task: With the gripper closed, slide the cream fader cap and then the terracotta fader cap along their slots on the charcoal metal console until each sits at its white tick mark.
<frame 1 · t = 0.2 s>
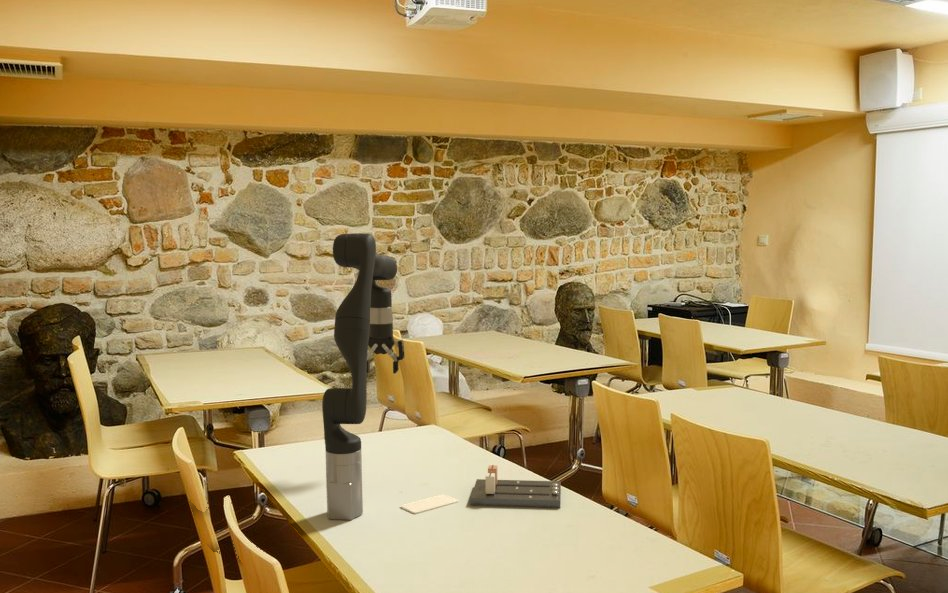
hand: (381, 372, 252), 29 cm above the table, fingers open, 8 cm apart
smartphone: (430, 506, 217), on the table
fader 2: (490, 483, 220), point 5 cm above the table, slide at 0.0 cm
fader 1: (492, 475, 227), point 5 cm above the table, slide at 0.0 cm
console: (516, 496, 223), on the table
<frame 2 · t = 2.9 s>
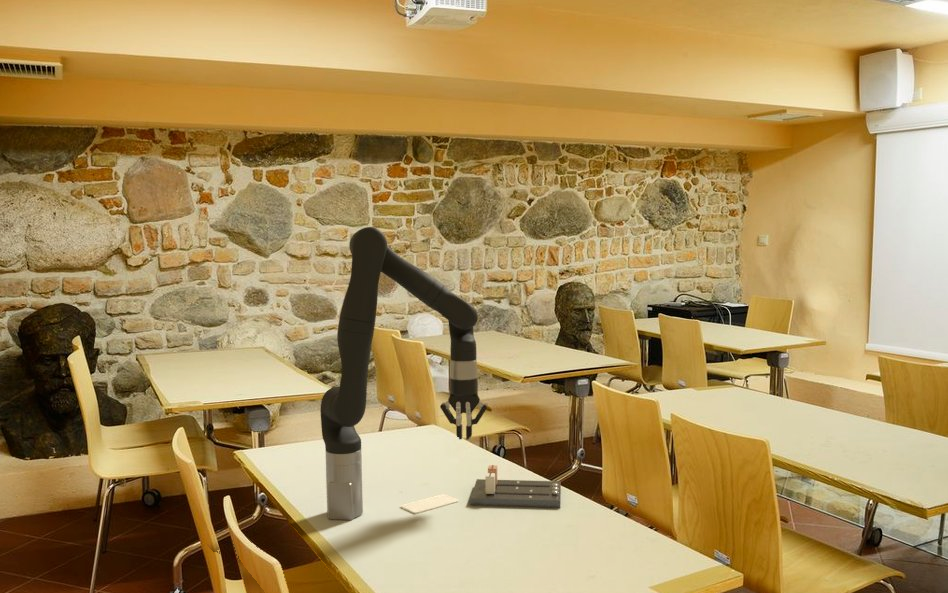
hand: (464, 438, 219), 17 cm above the table, fingers closed
nothing on the table moved.
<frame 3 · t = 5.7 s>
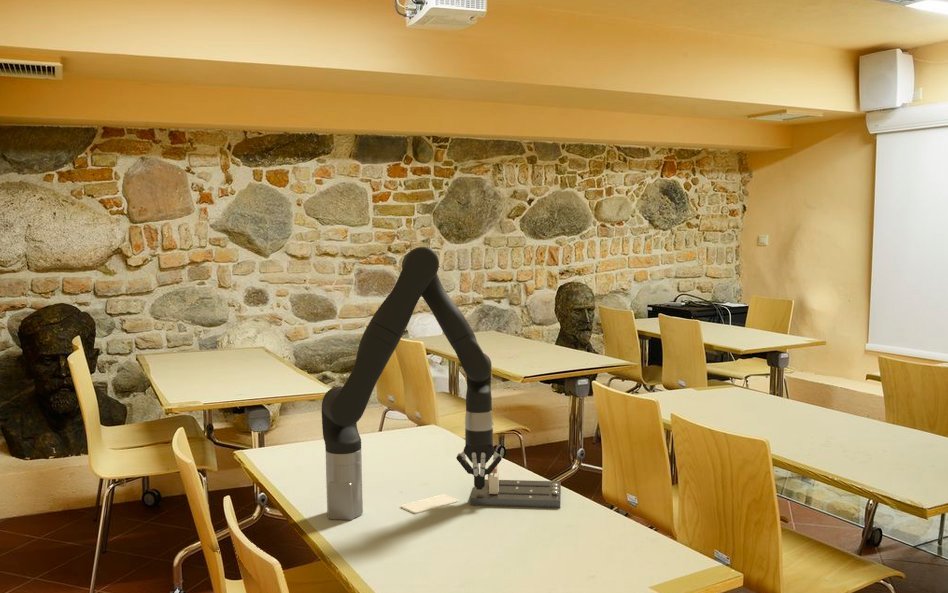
hand: (479, 488, 220), 3 cm above the table, fingers closed
fader 2: (493, 483, 220), point 5 cm above the table, slide at 1.0 cm, touching gripper
everything else where it was.
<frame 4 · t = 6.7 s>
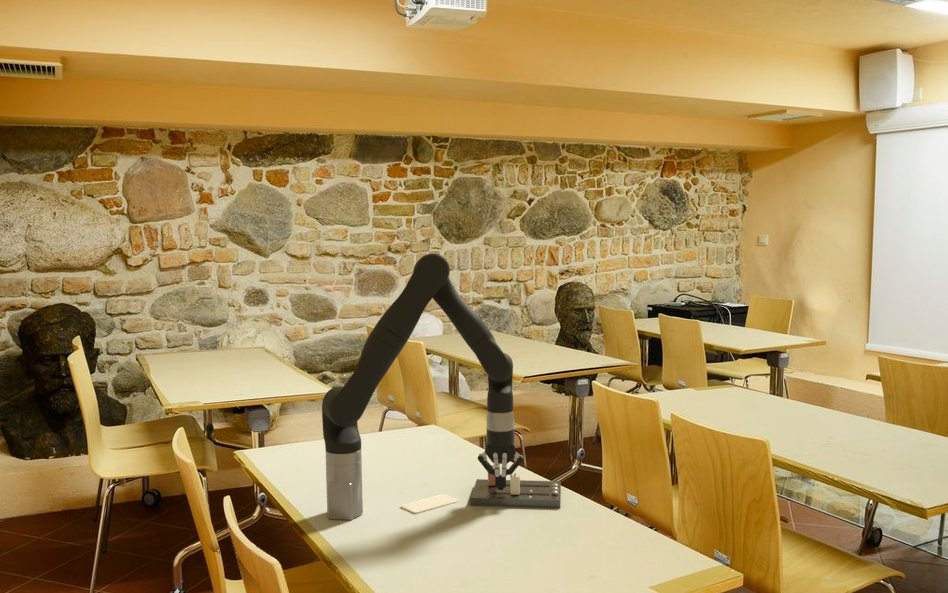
hand: (500, 489, 220), 3 cm above the table, fingers closed
fader 2: (515, 483, 219), point 5 cm above the table, slide at 6.8 cm, touching gripper
everything else where it was.
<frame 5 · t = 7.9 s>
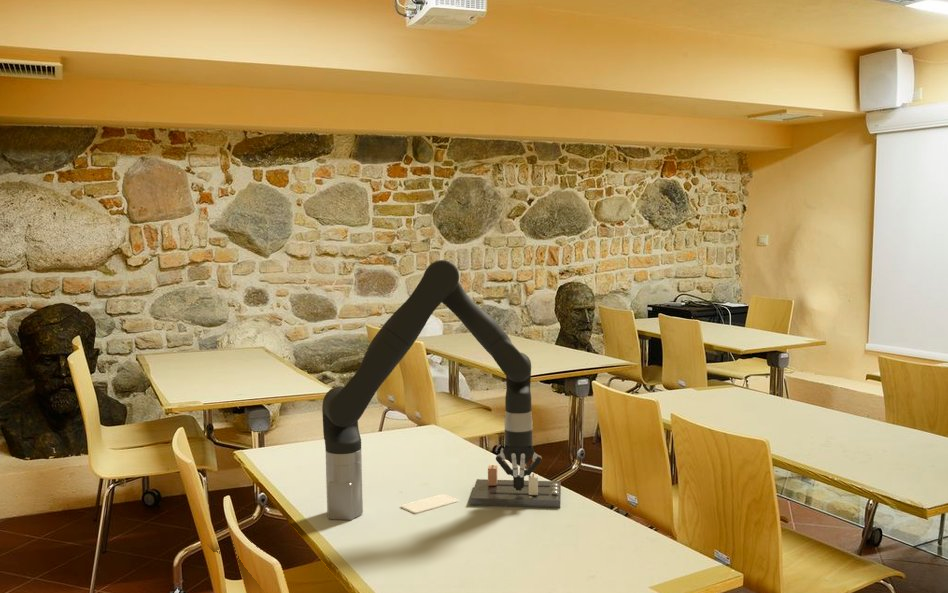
hand: (518, 489, 219), 3 cm above the table, fingers closed
fader 2: (533, 484, 218), point 5 cm above the table, slide at 11.7 cm, touching gripper
everything else where it was.
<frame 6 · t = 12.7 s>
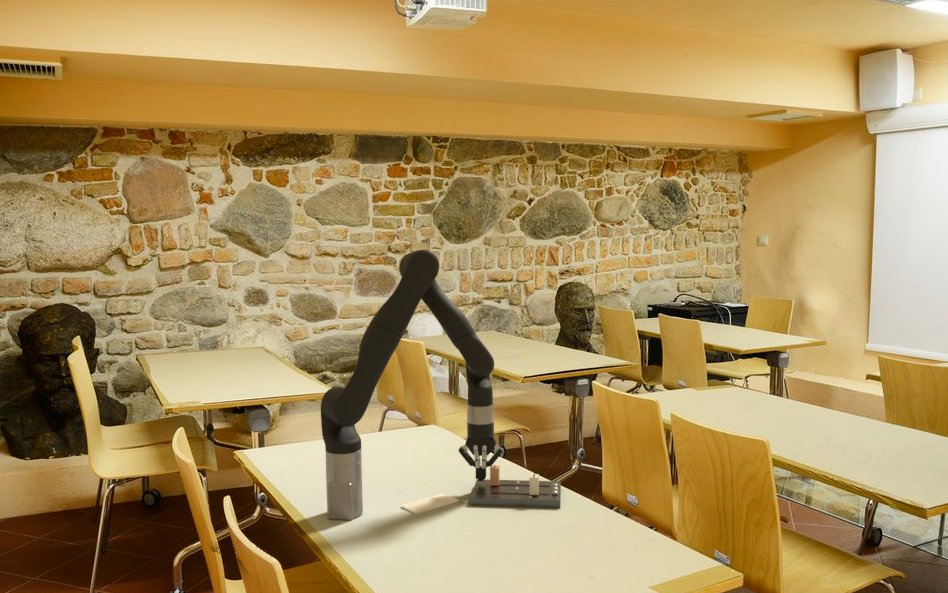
hand: (481, 480, 227), 3 cm above the table, fingers closed
fader 2: (534, 484, 218), point 5 cm above the table, slide at 11.9 cm
fader 1: (494, 475, 226), point 5 cm above the table, slide at 0.6 cm, touching gripper
everything else where it was.
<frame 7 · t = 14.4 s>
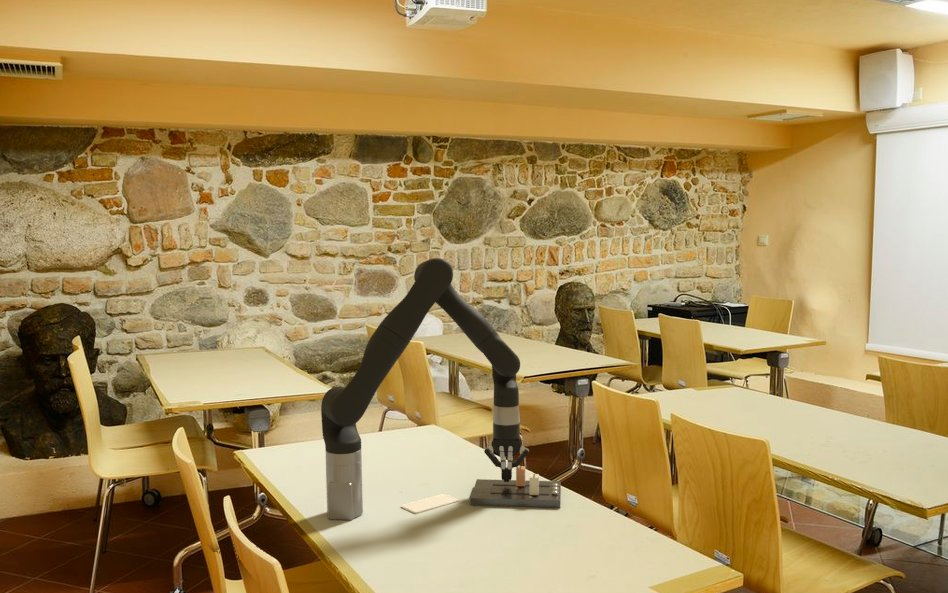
hand: (506, 481, 226), 3 cm above the table, fingers closed
fader 1: (520, 475, 226), point 5 cm above the table, slide at 7.9 cm, touching gripper
everything else where it was.
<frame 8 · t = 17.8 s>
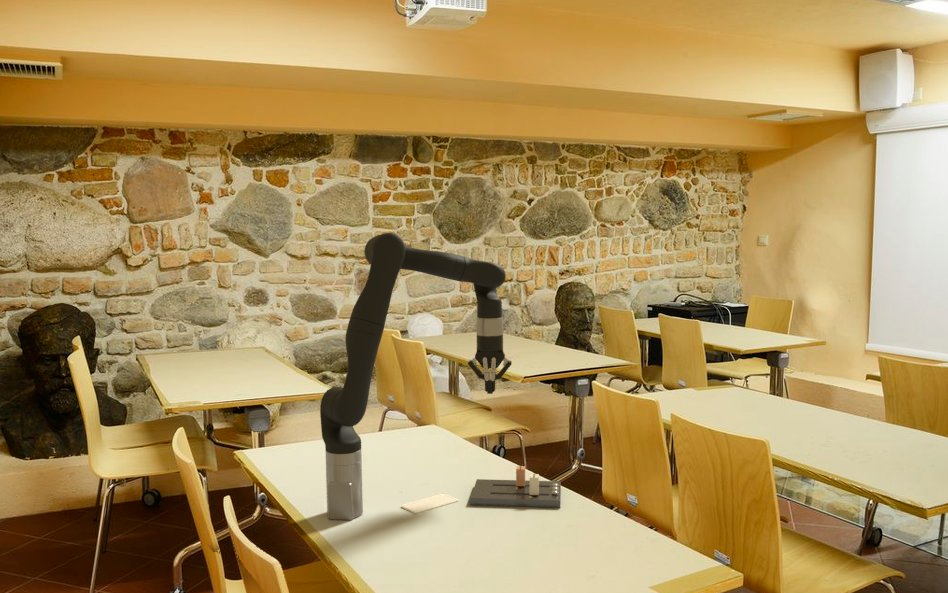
hand: (490, 393, 230), 27 cm above the table, fingers closed
fader 1: (520, 475, 226), point 5 cm above the table, slide at 7.9 cm
everything else where it was.
at the end: fader 2 slide at 11.9 cm; fader 1 slide at 7.9 cm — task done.
